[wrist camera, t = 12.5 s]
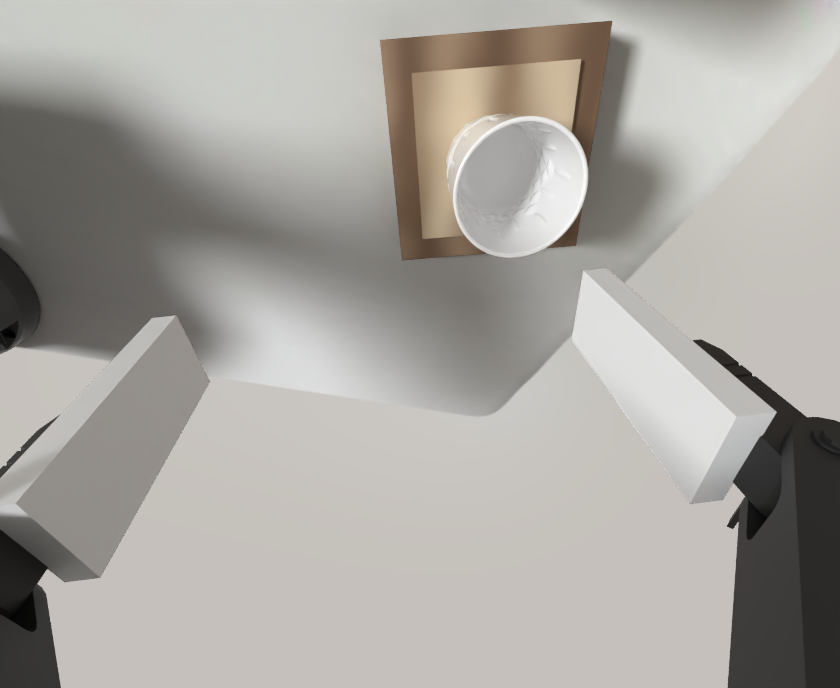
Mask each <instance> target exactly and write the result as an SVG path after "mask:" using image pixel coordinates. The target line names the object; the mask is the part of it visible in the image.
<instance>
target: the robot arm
mask: <svg viewBox="0 0 840 688" xmlns="http://www.w3.org/2000/svg"><path fill="white" fill-rule="evenodd" d="M39 317H40V309H39V303H38V299H37V296H36V294H35V291H34V289H33V287H32V286H31V284H30V282H29V281H28V279H27V278H26V276H25V275H24V273H23V272H22V271H21V270H20V269H19V267H18V266H17V265H16V264H15V263H14V262H13V261H12V260H11V259H10V258H9V257H8V256H7V255H6V254H5V253H4V252H3V251H1V250H0V354H1V353H3V352H6V351H8V350H10V349H12V348H13V347H15V346H16V345H18V344H19V343H21V342H22V341H23V340H25V339H26V338H28V337H29V336H30V335H31V334H32V333H33V332H34V331H35V329H36V327H37V325H38V322H39ZM572 342H573V343H574V345H575V346H576V347H577V349H578V350H579V351H580V353H581V354H582V356H583V357H584V358H585V360H586V361H587V363H588V364H589V365H590V367H591V368H592V370H593V371H594V372H595V374H596V375H597V376H598V378H599V379H600V380H601V382H602V383H603V385H604V386H605V387H606V389H607V390H608V391H609V393H610V394H611V396H612V397H613V399H614V400H615V401H616V403H617V404H618V405H619V407H620V408H621V410H622V411H623V412H624V414H625V415H626V417H627V418H628V419H629V421H630V422H631V423H632V425H633V426H634V428H635V429H636V430H637V432H638V433H639V434H640V436H641V437H642V439H643V440H644V441H645V443H646V444H647V446H648V447H649V448H650V450H651V451H652V452H653V454H654V455H655V457H656V458H657V459H658V461H659V462H660V463H661V465H662V466H663V468H664V469H665V470H666V472H667V473H668V474H669V476H670V477H671V478H672V480H673V481H674V483H675V484H676V486H677V487H678V488H679V490H680V491H681V493H682V494H683V495H684V497H685V498H686V499H687V501H688V502H689V504H694V503H702V502H710V501H717V500H723V499H724V497H725V496H726V494H727V493H728V491H729V489H730V487H731V486H732V484H733V483H734V484H735V485H736V486H737V487H738V488H739V489H740V491H741V492H742V493H743V494H744V495H745V498H744V499H743V501H742V502H741V504H740V505H739V507H738V508H737V510H736V511H735V513H734V514H733V516H732V517H731V519H730V521H729V523H728V525H727V527H729V528H732V529H733V528H734V527H735V525H736V524H737V522H739V528H738V543H737V557H736V572H735V589H734V602H733V618H732V632H731V633H732V634H731V648H730V661H729V676H728V688H840V422H837V421H835V420H830V419H825V418H819V417H809V418H808V417H806V416H804V415H803V414H802V413H801V412H799V411H798V410H797V409H796V408H794V407H793V406H792V405H791V404H790V403H788V402H787V401H786V400H785V399H783V398H782V397H781V396H779V395H778V394H777V393H776V392H775V391H773V390H772V389H771V388H769V387H768V386H767V385H766V384H764V383H763V382H762V381H761V380H759V379H758V378H757V377H753V376H752V373H751V372H749V371H748V370H747V369H746V368H744V367H743V366H742V365H741V366H739V364H738V362H737V361H736V360H734V359H733V358H732V357H731V356H729V355H728V354H727V353H726V352H724V351H723V350H722V349H720V348H717V347H715V346H713V345H711V344H709V343H707V342H705V341H703V340H691V339H690V338H689V337H688V336H686V335H685V334H684V333H683V332H682V331H680V330H679V329H678V328H677V327H676V326H674V325H673V324H672V323H671V322H670V321H668V320H667V319H666V318H665V317H664V316H663V315H662V314H660V313H659V312H658V311H657V310H656V309H654V308H653V307H652V306H651V305H650V304H648V303H647V302H646V301H645V300H644V299H643V298H641V297H640V296H639V295H638V294H637V293H636V292H634V291H633V290H632V289H631V288H630V287H628V286H627V285H626V284H625V283H624V282H623V281H621V280H620V279H619V278H618V277H617V276H615V275H614V274H613V273H612V272H611V271H610V270H608V269H607V268H601V269H592V270H583V276H582V282H581V287H580V293H579V299H578V305H577V311H576V316H575V322H574V328H573V334H572ZM209 383H210V381H209V379H208V377H207V375H206V373H205V371H204V369H203V367H202V365H201V363H200V361H199V359H198V357H197V355H196V353H195V351H194V349H193V347H192V345H191V343H190V341H189V339H188V337H187V335H186V333H185V331H184V329H183V327H182V325H181V323H180V321H179V319H178V317H177V315H174V316H165V317H156V318H152V319H151V320H150V321H149V322H148V323H147V324H146V325H145V326H144V327H143V328H142V329H141V330H140V331H139V332H138V333H137V334H136V335H135V337H134V338H133V339H132V340H131V341H130V342H129V343H128V344H127V345H126V346H125V347H124V348H123V349H122V350H121V351H120V352H119V353H118V354H117V356H116V357H115V358H114V359H113V360H112V361H111V362H110V363H109V364H108V365H107V366H106V367H105V368H104V369H103V370H102V371H101V372H100V373H99V375H98V376H97V377H96V378H95V379H94V380H93V381H92V382H91V383H90V384H89V385H88V386H87V387H86V388H85V389H84V390H83V391H82V392H81V394H80V395H79V396H78V397H77V398H76V399H75V400H74V401H73V402H72V403H71V404H70V405H69V406H68V407H67V408H66V409H65V411H63V412H62V414H60V415H59V416H58V417H56V418H55V419H53V420H52V421H50V422H49V423H48V424H46V425H45V426H43V427H42V428H40V429H39V430H38V431H37V432H36V433H35V434H34V435H33V436H32V437H31V438H30V439H29V440H28V441H27V442H26V443H25V444H24V445H23V446H22V447H21V451H17V452H16V453H15V454H14V455H13V456H12V458H11V459H9V460H8V462H7V466H3V467H2V468H1V469H0V688H61V687H60V680H59V674H58V667H57V661H56V655H55V648H54V642H53V635H52V629H51V622H50V616H49V610H48V604H47V597H46V593H45V592H44V590H43V589H42V587H40V586H39V585H38V584H37V583H38V582H39V580H40V579H41V577H42V576H43V574H44V573H45V571H46V570H47V569H49V570H50V571H51V572H53V573H54V574H55V575H56V576H57V577H59V578H60V579H61V580H63V581H64V582H70V581H77V580H86V579H94V578H100V577H101V575H102V573H103V572H104V570H105V568H106V567H107V565H108V563H109V561H110V559H111V558H112V556H113V554H114V552H115V550H116V549H117V547H118V545H119V543H120V542H121V540H122V538H123V536H124V534H125V533H126V531H127V529H128V527H129V525H130V524H131V522H132V520H133V518H134V516H135V515H136V513H137V511H138V509H139V507H140V506H141V504H142V502H143V500H144V499H145V497H146V495H147V493H148V492H149V490H150V488H151V486H152V484H153V483H154V481H155V479H156V477H157V475H158V474H159V472H160V470H161V468H162V466H163V464H164V463H165V461H166V459H167V458H168V456H169V454H170V452H171V450H172V448H173V447H174V445H175V443H176V441H177V440H178V438H179V436H180V434H181V433H182V430H183V429H184V427H185V425H186V424H187V422H188V420H189V418H190V416H191V415H192V413H193V411H194V409H195V408H196V406H197V404H198V402H199V400H200V399H201V397H202V395H203V393H204V391H205V389H206V388H207V386H208V384H209Z"/></svg>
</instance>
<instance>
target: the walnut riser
mask: <svg viewBox="0 0 840 688" xmlns="http://www.w3.org/2000/svg"><path fill="white" fill-rule="evenodd" d="M611 26H612V21H604V22H592V23H580V24H568V25H556V26H544V27H532V28H520V29H508V30H496V31H484V32H472V33H460V34H448V35H436V36H423V37H411V38H399V39H387V40H380V44H381V54H382V64H383V74H384V84H385V94H386V104H387V114H388V124H389V134H390V144H391V154H392V164H393V174H394V184H395V194H396V204H397V214H398V224H399V234H400V244H401V254H402V260H412V259H424V258H436V257H448V256H459V255H471V254H483V253H486V252H484V251H482V250H480V249H478V248H477V247H476V246H474V245H473V244H472V243H471V242H470V241H469V240H468V239H467V238H466V236H465V235H464V234H463V232H462V230H461V229H460V227H459V224H458V222H457V219H456V216H455V212H454V208H453V205H452V201H451V198H450V194H449V189H448V184H447V169H446V158H447V155H448V151H449V148H450V145H451V142H452V139H453V138H454V137H455V136H456V135H457V134H458V133H459V131H460V130H461V129H462V128H463V127H464V126H465V125H466V123H468V122H470V121H473V120H475V119H477V118H480V117H482V116H484V115H495V114H516V115H528V116H539V117H545V118H548V119H551V120H554V121H556V122H558V123H560V124H562V125H563V126H565V127H566V128H567V129H568V130H570V131H571V132H572V133H573V135H574V136H575V137H576V138H577V140H578V141H579V143H580V145H581V146H582V148H583V151H584V153H585V156H586V160H587V165H588V167H589V161H590V155H591V149H592V143H593V136H594V130H595V124H596V118H597V112H598V106H599V100H600V93H601V87H602V81H603V75H604V69H605V63H606V57H607V50H608V44H609V38H610V32H611ZM581 210H582V208H581ZM581 210H580V212H579V214H578V216H577V217H576V219H575V221H574V222H573V223H572V225H571V226H570V227H569V229H568V230H567V231H566V232H565V233H564V234H563V235H562V236H561V237H560V238H559V239H558V240H557V241H555V242H554V243H553V244H551V245H550V246H548V247H546V248H554V247H566V246H576V241H577V235H578V228H579V222H580V216H581Z"/></svg>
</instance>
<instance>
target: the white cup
mask: <svg viewBox="0 0 840 688" xmlns="http://www.w3.org/2000/svg"><path fill="white" fill-rule="evenodd" d="M446 169H447V184H448V189H449V194H450V198H451V201H452V205H453V208H454V212H455V216H456V219H457V222H458V224H459V227H460V229H461V230H462V232H463V234H464V235H465V236H466V238H467V239H468V240H469V241H470V242H471V243H472V244H473V245H474V246H476V247H477V248H478V249H480V250H482V251H484V252H486V253H488V254H490V255H494V256H497V257H504V258H517V257H523V256H528V255H531V254H534V253H536V252H539V251H541V250H543V249H545V248H546V247H548V246H550V245H551V244H553V243H554V242H555V241H557V240H558V239H559V238H560V237H561V236H562V235H563V234H564V233H565V232H566V231H567V230H568V229H569V227H570V226H571V225H572V223H573V222H574V221H575V219H576V217H577V216H578V214H579V212H580V210H581V208H582V205H583V203H584V200H585V196H586V192H587V187H588V165H587V160H586V156H585V153H584V151H583V148H582V146H581V145H580V143H579V141H578V140H577V138H576V137H575V136H574V135H573V133H572V132H571V131H570V130H568V129H567V128H566V127H565V126H563V125H562V124H560V123H558V122H556V121H554V120H551V119H548V118H545V117H539V116H528V115H516V114H495V115H484V116H482V117H480V118H477V119H475V120H473V121H470V122H468V123H466V125H465V126H464V127H463V128H462V129H461V130H460V131H459V133H458V134H457V135H456V136H455V137H454V138H453V139H452V142H451V145H450V148H449V151H448V155H447V158H446Z"/></svg>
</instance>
